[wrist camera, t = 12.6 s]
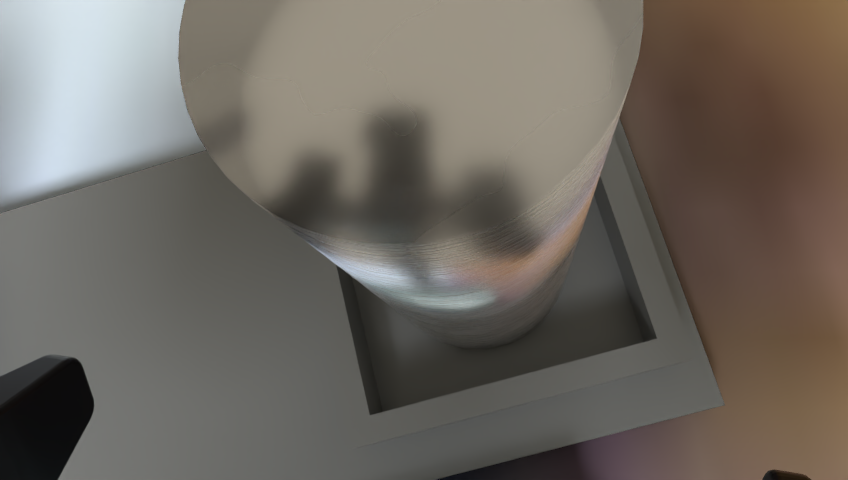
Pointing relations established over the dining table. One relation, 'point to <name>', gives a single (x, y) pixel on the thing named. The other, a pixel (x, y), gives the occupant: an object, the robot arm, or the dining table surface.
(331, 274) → the tray
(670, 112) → the dining table surface
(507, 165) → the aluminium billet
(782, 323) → the dining table surface
